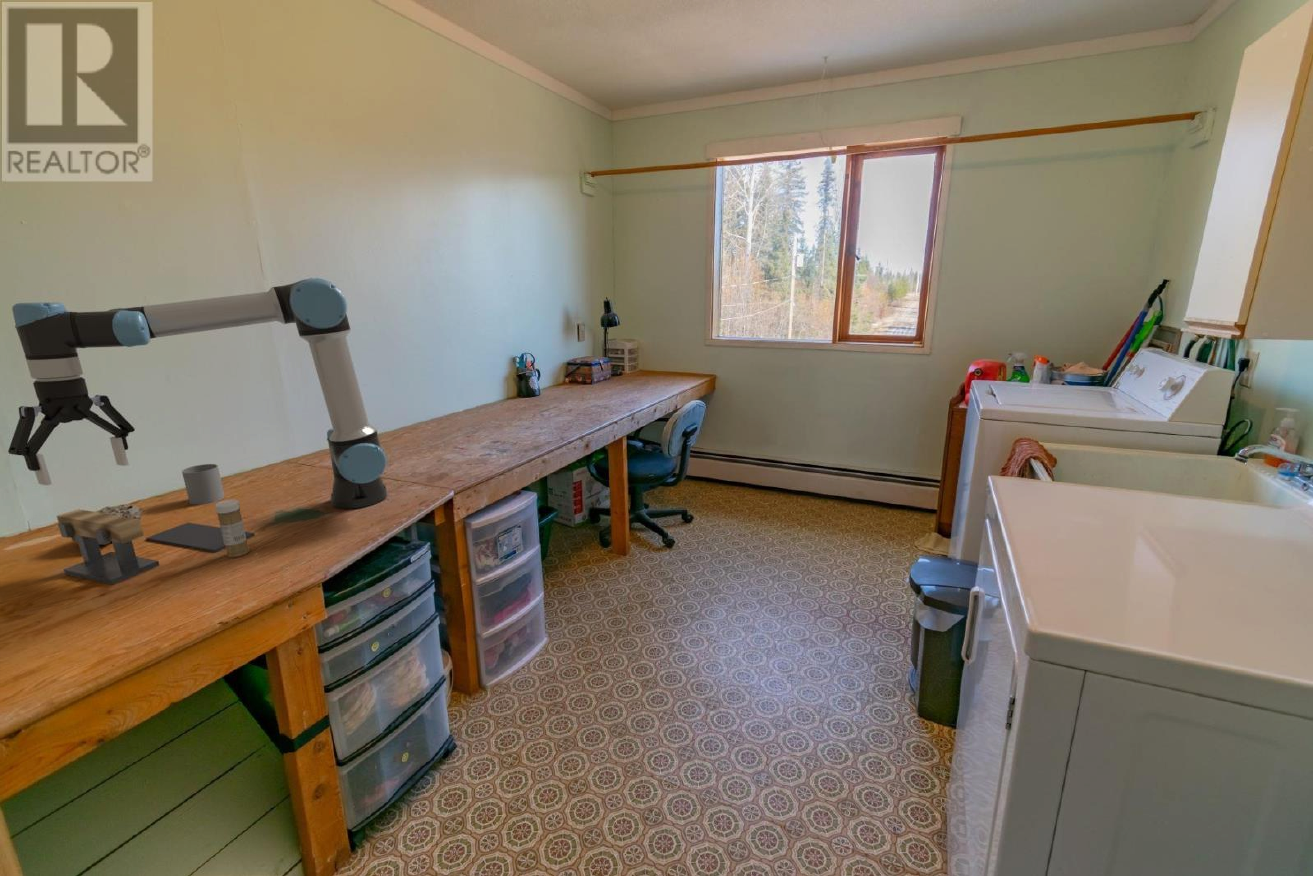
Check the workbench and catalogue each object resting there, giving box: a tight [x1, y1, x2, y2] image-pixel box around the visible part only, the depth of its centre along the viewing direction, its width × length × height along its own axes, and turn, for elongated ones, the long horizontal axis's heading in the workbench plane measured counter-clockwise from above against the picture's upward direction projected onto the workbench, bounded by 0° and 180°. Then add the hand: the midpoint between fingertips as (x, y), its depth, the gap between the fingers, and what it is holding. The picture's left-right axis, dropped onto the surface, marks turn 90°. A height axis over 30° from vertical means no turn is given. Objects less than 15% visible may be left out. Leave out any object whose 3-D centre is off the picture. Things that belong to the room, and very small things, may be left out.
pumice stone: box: [69, 504, 143, 545], centre depth 141 cm, size 14×12×8 cm
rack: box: [57, 523, 160, 586], centre depth 125 cm, size 16×9×12 cm, turn 74°
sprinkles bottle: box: [214, 499, 250, 558], centre depth 132 cm, size 5×5×13 cm
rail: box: [56, 508, 144, 543], centre depth 124 cm, size 20×4×4 cm, turn 74°
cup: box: [181, 463, 225, 506], centre depth 167 cm, size 8×8×10 cm
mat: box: [145, 522, 256, 553], centre depth 143 cm, size 24×10×1 cm, turn 74°
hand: (86, 474), depth 121 cm, fingers open, 13 cm apart
